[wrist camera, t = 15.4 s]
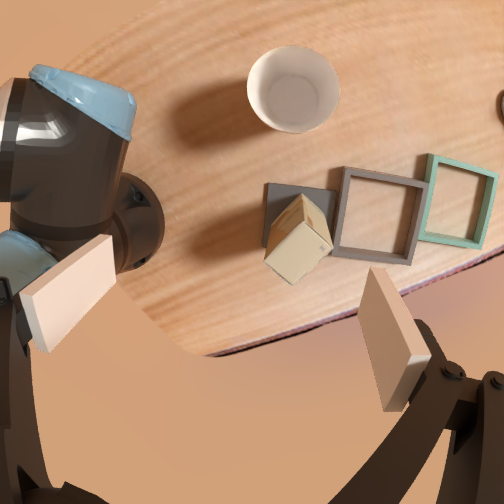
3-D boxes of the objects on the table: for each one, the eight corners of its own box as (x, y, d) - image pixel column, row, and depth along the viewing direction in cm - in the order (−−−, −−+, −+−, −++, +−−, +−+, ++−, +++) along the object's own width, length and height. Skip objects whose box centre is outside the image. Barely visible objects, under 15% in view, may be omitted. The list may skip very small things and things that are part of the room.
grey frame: (329, 250, 45) (331, 255, 43) (343, 165, 40) (345, 167, 38) (406, 260, 44) (410, 265, 42) (424, 180, 39) (429, 183, 37)
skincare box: (301, 191, 42) (305, 217, 30) (324, 213, 42) (337, 246, 31) (268, 225, 44) (261, 262, 33) (292, 246, 45) (292, 288, 33)
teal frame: (412, 234, 42) (417, 239, 40) (428, 153, 38) (434, 154, 36) (475, 245, 41) (481, 249, 40) (492, 171, 37) (499, 173, 35)
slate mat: (262, 245, 46) (262, 247, 45) (268, 182, 42) (268, 183, 42) (325, 253, 45) (326, 254, 44) (335, 191, 42) (336, 191, 41)
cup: (313, 142, 39) (323, 148, 28) (247, 118, 39) (231, 115, 28) (337, 81, 36) (355, 64, 25) (270, 57, 36) (263, 31, 25)
